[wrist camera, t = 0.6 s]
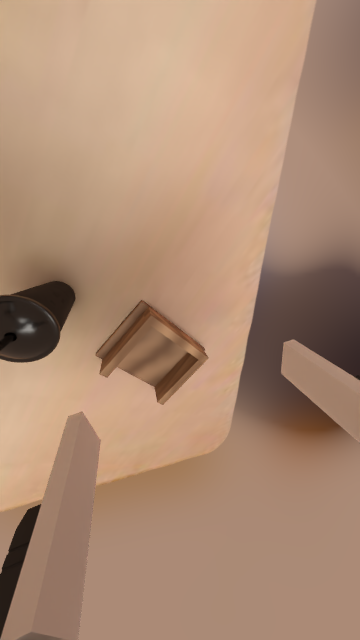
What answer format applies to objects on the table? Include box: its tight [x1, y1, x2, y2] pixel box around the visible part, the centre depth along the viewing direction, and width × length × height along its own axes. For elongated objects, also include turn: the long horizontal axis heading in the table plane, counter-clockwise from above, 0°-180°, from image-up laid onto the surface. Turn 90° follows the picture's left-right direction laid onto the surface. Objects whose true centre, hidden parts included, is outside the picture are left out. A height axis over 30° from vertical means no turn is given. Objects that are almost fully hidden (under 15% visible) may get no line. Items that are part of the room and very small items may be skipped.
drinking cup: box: [0, 281, 75, 363], centre depth 23 cm, size 8×8×20 cm
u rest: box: [96, 300, 208, 405], centre depth 38 cm, size 18×14×6 cm
